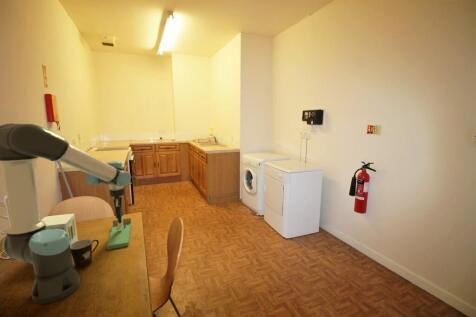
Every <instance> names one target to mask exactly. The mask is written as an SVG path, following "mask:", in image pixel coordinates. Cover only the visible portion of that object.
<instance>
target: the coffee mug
mask: <svg viewBox="0 0 476 317" xmlns="http://www.w3.org/2000/svg"><path fill="white" fill-rule="evenodd" d="M94 242H97V243H96V244H95V247H94V248H93V243H94ZM98 246H99V240H97V239H94V240H92V239H89V238H86V239H80V240H79V239H78V241H76V242H74V243H72V244H71V245H70V249H71V256H72V262H73V263H74V268H75V269H76V268H77V269H82V268H86V267H88V266H89V265H91V264H92V262H93V261H92V258H93V256H92V255H93V252H95V250H96V249H97V247H98Z"/></svg>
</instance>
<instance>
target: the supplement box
mask: <svg viewBox="0 0 476 317" xmlns="http://www.w3.org/2000/svg"><path fill="white" fill-rule="evenodd" d="M41 220H42V221H44V222H45V224H46V230H47V229H62V230H65V231H66V232H67V233H68V236H69V239H70V245H71V244H72V243H74V242H76V241H79V239H78V237H79V236H78V231H77V223H76V215H75V213H65V214H57V215H50V216H49V215H48V216H47V215H46V216H45V217H43V218H42V219H41Z"/></svg>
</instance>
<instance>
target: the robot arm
mask: <svg viewBox="0 0 476 317" xmlns="http://www.w3.org/2000/svg"><path fill="white" fill-rule="evenodd" d="M39 158H42V159H45V160H48V161H51V162H60V163H62V164H64V165H67V166H69V167H71V168H74V169H77V170H78V171H81V172H83V173H86V174H85V181H86V183H87V184H88V185H90V186H95V185H96V186H97V185H99V184H101V185H108V188H109V195H110V197H111V198H112V197H113V203H114V204H113V205H114V210H115V219H116V220H117V223H118V228H123V219H124V218H123V217H124V213H123V197H122V196H124V195H126V193H125V187H127V186H128V185H129V184H130V183H131V179H132V176H131V173H130V172H128V171H126V170H124V168H123V164H122V161H119V160H112V161H108V162H104V161H102V160H101V159H99V158H96V157H95V156H93V155H91V154H89V153H88V152H86V151H84V150H82V149H80V148H77V147H76V146H74V145H71V144H70V142H69V140H68V139H66V138H65V137H63V136H60V135H59V134H57V133H55V132H53V131H52V130H49V129H47V128H45V127H42V126H40V125H37V124H33V123H12V122H11V123H5V124H0V164H1V165H2V166H3V172H4V179H5V186H6V187H5V188H6V196H7V202H8V210H9V217H10V224H11V226H9V227H8V229H6V236H5V237H4V239H3V241H2V244H1V245H2V246H1V247H2V251H3V253H4V254H5V255H6V256H8V257H9V258H12V259H14V260H17V261H21V262H24V263H28V264H30V265H32V268H33V273H34V281H33V286H32V289H31V298H32V301H33V302H34V303H35V304H39V305H40V304H41V305H42V304H43V305H45V304H50V303H54V302H58V301H60V300H62V299H64V298H66V297H68V296H70V295H71V294H72V293H74V292H75V291H76V290H77V289H78V288H79V286H80V285H81V278H80V277H81V276H80V275H79V273H78V271H77V269H76V267H75V266H74V265H73V257H72V254H71V249H70V239H69V236H68V233H67V232H66V231H65V230H62V229H47V230H46V224H45V222H44V221H42V219H41V217H40V206H39V198H38V190H37V180H36V172H35V164H34V163H35V162H36V161H37V160H38V159H39Z"/></svg>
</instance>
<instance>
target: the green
mask: <svg viewBox="0 0 476 317" xmlns="http://www.w3.org/2000/svg"><path fill="white" fill-rule="evenodd" d="M123 226H124V229H119V230H118V229H117V228H118V223H117V219H112V227H111V228H112V229H111V231H110V234H109V236H108V237H109V238H108V241H107V245H106V249H107V250H112V249H117V248H125V247H129V244H130V237H131V230H132V218H131V217H127V218H123Z"/></svg>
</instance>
